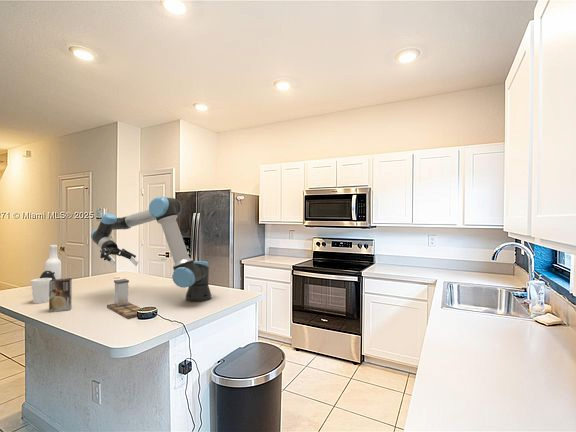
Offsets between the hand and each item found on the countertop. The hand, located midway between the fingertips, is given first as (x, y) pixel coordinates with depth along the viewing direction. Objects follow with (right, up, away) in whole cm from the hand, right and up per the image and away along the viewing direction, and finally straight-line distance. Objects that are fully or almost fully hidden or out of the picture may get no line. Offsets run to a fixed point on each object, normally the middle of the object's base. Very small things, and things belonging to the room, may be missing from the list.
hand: (126, 263), depth 170 cm
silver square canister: (-1, -22, -4) cm, 22 cm away
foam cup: (-52, -23, +5) cm, 57 cm away
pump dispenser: (-62, -23, +22) cm, 69 cm away
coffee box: (-30, -24, -9) cm, 39 cm away
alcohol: (-69, -23, +36) cm, 81 cm away
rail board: (+5, -24, -9) cm, 26 cm away
